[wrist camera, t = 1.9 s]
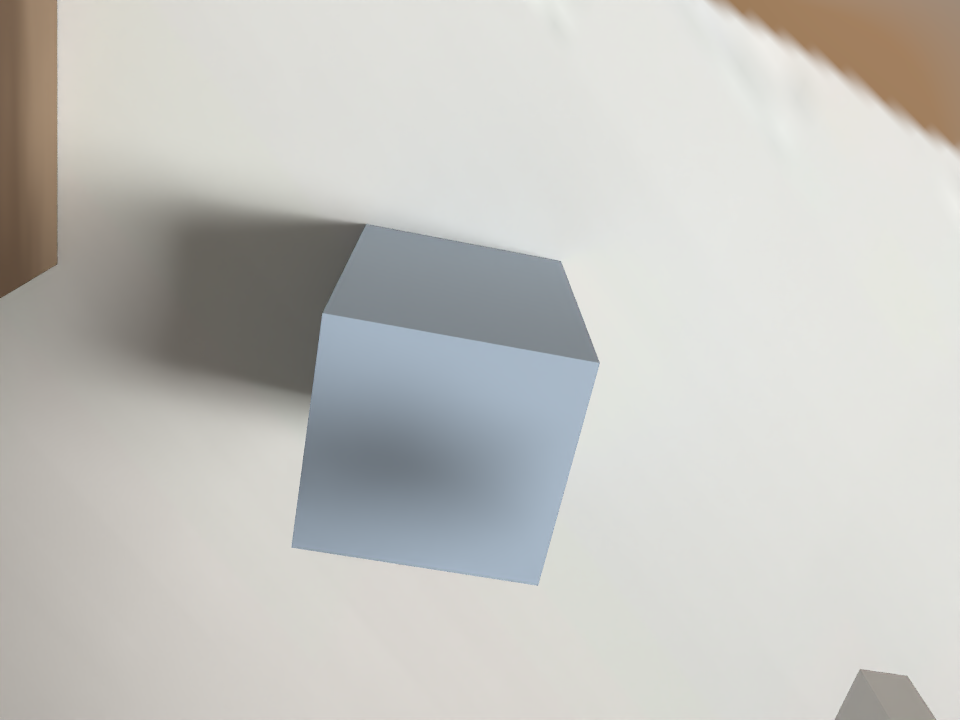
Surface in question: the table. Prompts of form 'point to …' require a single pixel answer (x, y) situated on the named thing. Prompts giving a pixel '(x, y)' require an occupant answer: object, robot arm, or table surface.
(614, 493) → the table surface
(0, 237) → the walnut base
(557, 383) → the slate block
